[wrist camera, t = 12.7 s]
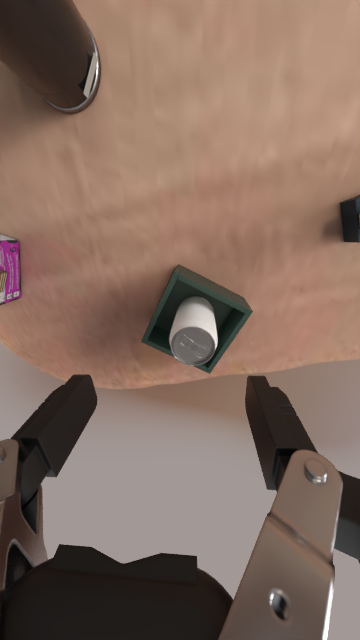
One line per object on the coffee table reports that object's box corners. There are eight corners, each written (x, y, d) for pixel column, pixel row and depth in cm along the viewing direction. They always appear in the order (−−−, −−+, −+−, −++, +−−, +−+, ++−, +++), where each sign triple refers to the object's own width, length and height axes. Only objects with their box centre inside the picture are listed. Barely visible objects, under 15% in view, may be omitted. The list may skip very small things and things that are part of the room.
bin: (150, 324, 39) (140, 341, 33) (178, 264, 34) (174, 271, 28) (208, 352, 40) (209, 373, 34) (244, 297, 35) (253, 311, 29)
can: (200, 335, 38) (199, 376, 27) (170, 317, 37) (157, 352, 26) (221, 308, 36) (229, 341, 25) (190, 288, 35) (185, 313, 24)
